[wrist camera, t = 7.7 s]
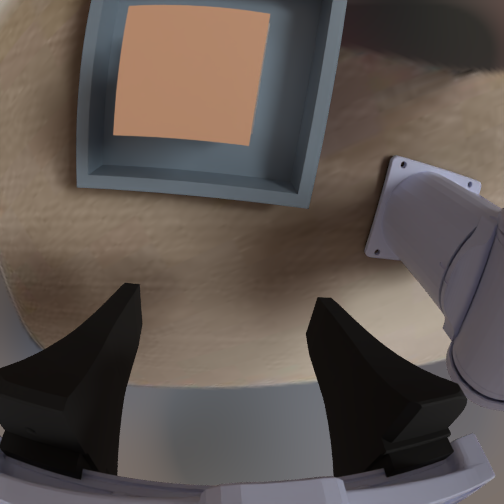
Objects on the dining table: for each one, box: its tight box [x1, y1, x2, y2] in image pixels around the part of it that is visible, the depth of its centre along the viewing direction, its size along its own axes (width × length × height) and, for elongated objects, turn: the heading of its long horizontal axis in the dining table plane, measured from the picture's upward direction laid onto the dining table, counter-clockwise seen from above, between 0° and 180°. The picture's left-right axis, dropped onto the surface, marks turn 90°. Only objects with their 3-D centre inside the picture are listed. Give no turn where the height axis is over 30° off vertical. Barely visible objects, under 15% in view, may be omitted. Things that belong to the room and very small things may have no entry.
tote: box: [76, 0, 347, 209], centre depth 16 cm, size 14×14×3 cm
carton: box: [113, 5, 270, 146], centre depth 12 cm, size 5×5×5 cm
